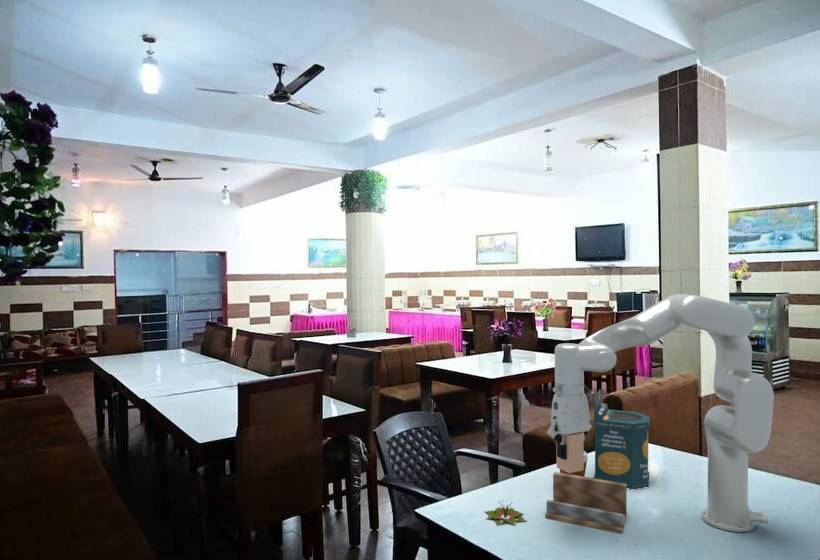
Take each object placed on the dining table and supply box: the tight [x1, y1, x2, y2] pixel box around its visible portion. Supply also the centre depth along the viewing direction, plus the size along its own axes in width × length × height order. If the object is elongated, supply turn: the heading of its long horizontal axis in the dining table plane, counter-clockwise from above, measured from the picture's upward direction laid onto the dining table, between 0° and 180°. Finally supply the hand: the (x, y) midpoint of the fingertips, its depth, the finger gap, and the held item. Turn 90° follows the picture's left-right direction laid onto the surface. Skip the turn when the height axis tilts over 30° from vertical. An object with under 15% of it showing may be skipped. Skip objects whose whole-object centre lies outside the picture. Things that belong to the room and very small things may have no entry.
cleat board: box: [544, 471, 628, 535], centre depth 152 cm, size 20×13×9 cm, turn 63°
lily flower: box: [484, 499, 527, 527], centre depth 151 cm, size 12×12×5 cm
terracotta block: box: [555, 432, 585, 473], centre depth 146 cm, size 5×5×10 cm
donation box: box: [593, 388, 651, 490], centre depth 179 cm, size 16×16×28 cm
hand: (570, 455), depth 146 cm, fingers closed on terracotta block, 5 cm apart
